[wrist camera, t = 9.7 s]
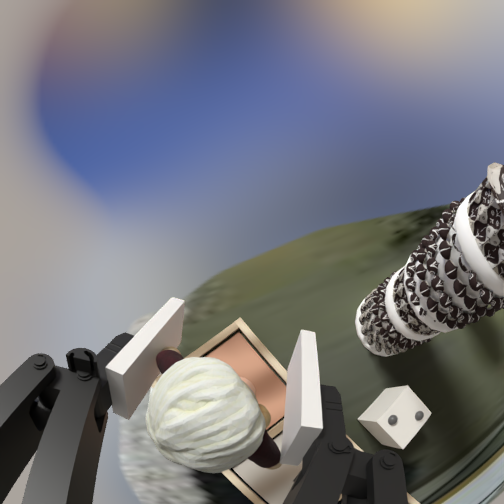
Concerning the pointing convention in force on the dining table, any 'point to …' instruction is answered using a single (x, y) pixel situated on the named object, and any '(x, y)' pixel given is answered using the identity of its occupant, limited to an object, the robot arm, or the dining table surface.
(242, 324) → the wooden flat rectangular frame
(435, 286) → the decorative candle
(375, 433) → the ivory die
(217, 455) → the grandmother figurine
